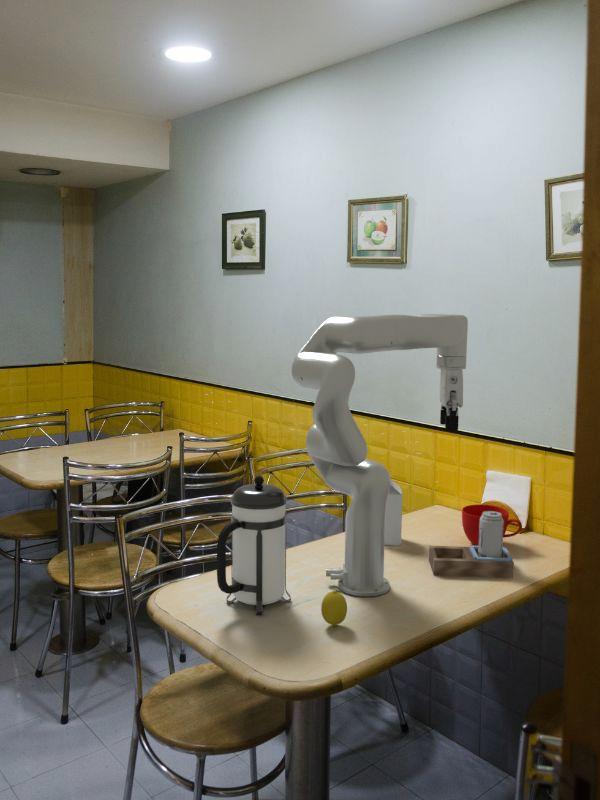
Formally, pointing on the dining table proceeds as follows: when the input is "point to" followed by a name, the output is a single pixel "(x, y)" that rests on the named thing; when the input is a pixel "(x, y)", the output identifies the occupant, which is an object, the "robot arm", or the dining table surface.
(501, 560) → the block
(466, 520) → the ceramic cup
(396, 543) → the milk carton
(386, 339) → the robot arm
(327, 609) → the lemon
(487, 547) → the energy drink can
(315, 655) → the dining table surface
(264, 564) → the coffee press
